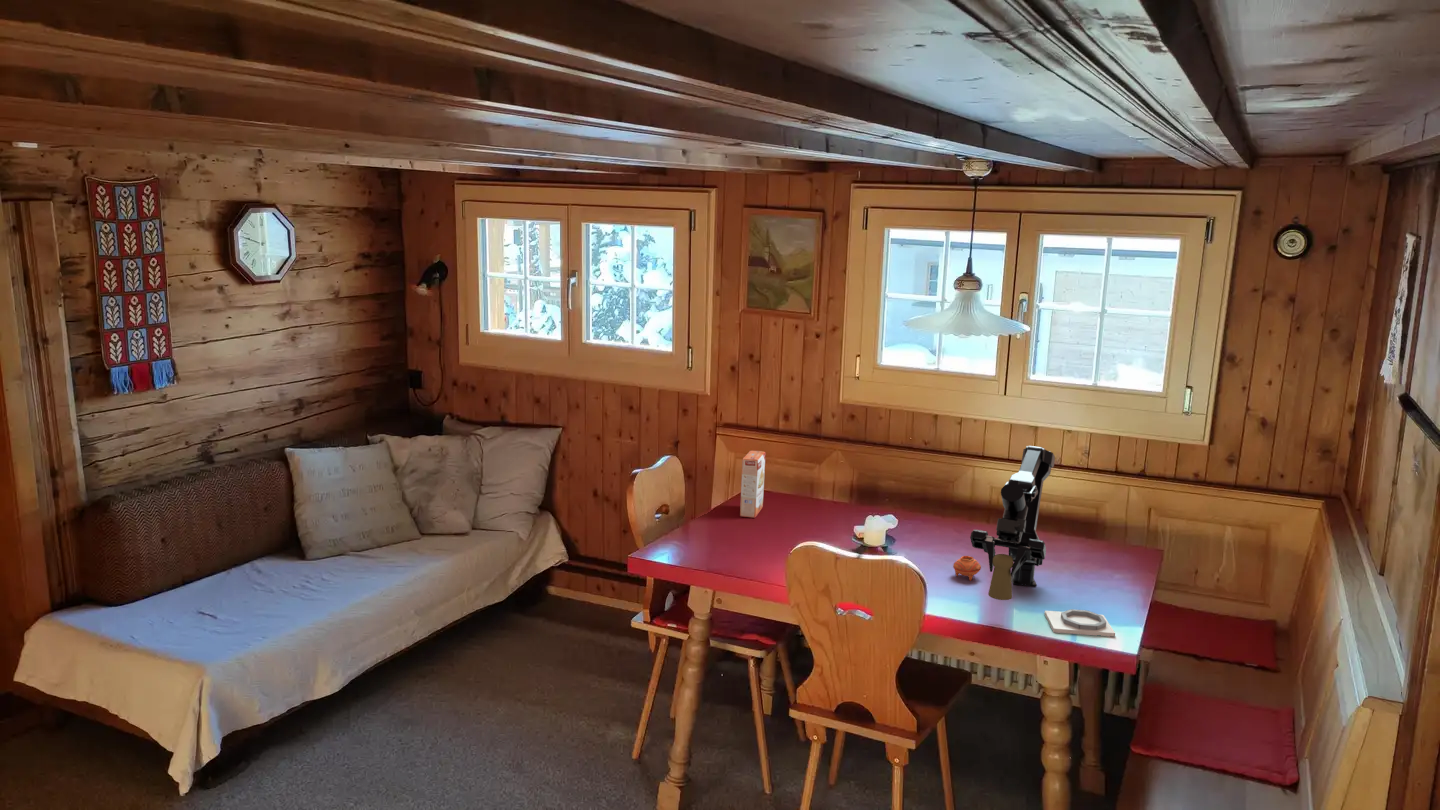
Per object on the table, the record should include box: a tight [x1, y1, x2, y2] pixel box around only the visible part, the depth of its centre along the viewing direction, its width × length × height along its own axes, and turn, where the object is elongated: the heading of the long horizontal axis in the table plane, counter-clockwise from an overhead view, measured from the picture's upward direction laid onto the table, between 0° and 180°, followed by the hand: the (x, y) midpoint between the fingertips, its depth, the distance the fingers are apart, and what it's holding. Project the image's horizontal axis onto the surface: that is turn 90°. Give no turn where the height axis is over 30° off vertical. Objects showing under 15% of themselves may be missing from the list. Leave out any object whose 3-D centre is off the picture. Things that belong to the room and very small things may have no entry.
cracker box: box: [739, 450, 767, 519], centre depth 346 cm, size 14×6×21 cm, turn 167°
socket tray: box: [1044, 609, 1116, 637], centre depth 256 cm, size 12×15×2 cm
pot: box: [952, 555, 982, 582], centre depth 289 cm, size 8×8×7 cm
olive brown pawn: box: [987, 553, 1014, 601], centre depth 256 cm, size 6×6×11 cm
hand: (1001, 573), depth 254 cm, fingers closed on olive brown pawn, 5 cm apart
